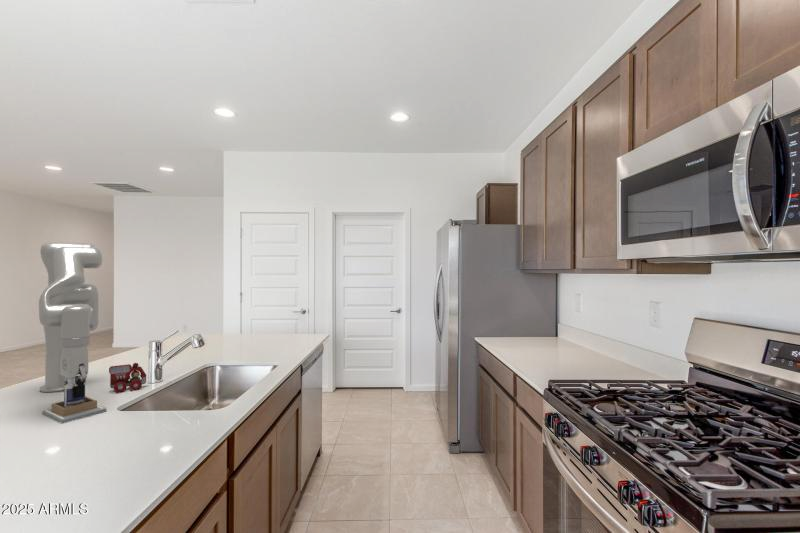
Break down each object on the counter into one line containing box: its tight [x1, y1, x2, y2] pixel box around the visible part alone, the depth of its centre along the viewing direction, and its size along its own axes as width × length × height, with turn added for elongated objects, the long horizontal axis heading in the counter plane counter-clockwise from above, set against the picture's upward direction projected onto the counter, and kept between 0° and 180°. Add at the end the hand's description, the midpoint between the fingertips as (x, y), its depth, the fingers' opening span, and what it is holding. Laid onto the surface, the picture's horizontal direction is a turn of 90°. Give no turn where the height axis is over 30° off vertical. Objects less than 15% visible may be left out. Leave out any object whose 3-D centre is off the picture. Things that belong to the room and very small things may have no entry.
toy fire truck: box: [108, 362, 147, 394], centre depth 155 cm, size 7×12×10 cm, turn 129°
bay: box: [41, 395, 107, 424], centre depth 129 cm, size 16×12×4 cm
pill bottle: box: [63, 374, 86, 408], centre depth 129 cm, size 5×5×10 cm
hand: (74, 395), depth 129 cm, fingers closed on pill bottle, 5 cm apart
